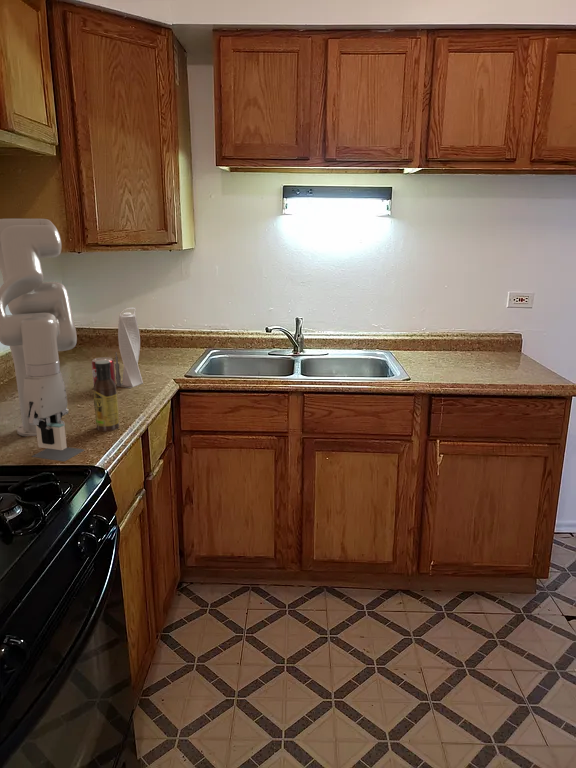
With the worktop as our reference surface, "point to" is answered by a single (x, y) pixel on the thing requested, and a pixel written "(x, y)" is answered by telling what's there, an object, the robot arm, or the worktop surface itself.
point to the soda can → (112, 370)
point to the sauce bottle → (105, 398)
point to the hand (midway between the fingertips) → (51, 441)
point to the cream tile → (58, 437)
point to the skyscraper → (128, 350)
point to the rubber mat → (58, 454)
